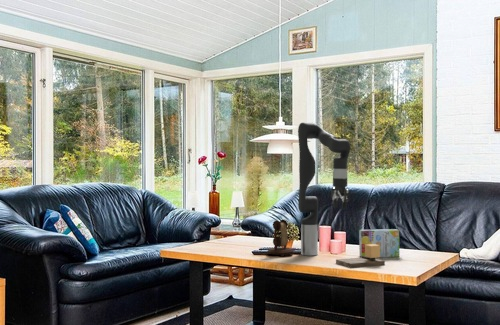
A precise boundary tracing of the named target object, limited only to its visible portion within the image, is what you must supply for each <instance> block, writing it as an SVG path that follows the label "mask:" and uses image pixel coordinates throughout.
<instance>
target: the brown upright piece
mask: <svg viewBox="0 0 500 325" xmlns="http://www.w3.org/2000/svg"><path fill="white" fill-rule="evenodd" d="M288 225H289V224H288V221H287V220H285V219H281V220H278V219H277V220H274V221H273V222H272V228H273V231H274V232H273V236H274V238H273V239H272V243H273V245H274V247H273V248H269V249H267V252H268V253H269V254H270V255H281V258H283V257H284V255H291V254H292V255H293V254H294V249H292V248H290V247H287V246H288V241H289V240H288V231H287V228H288V227H289V226H288ZM279 236H280V237H279ZM268 253H267V254H268Z"/></svg>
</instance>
